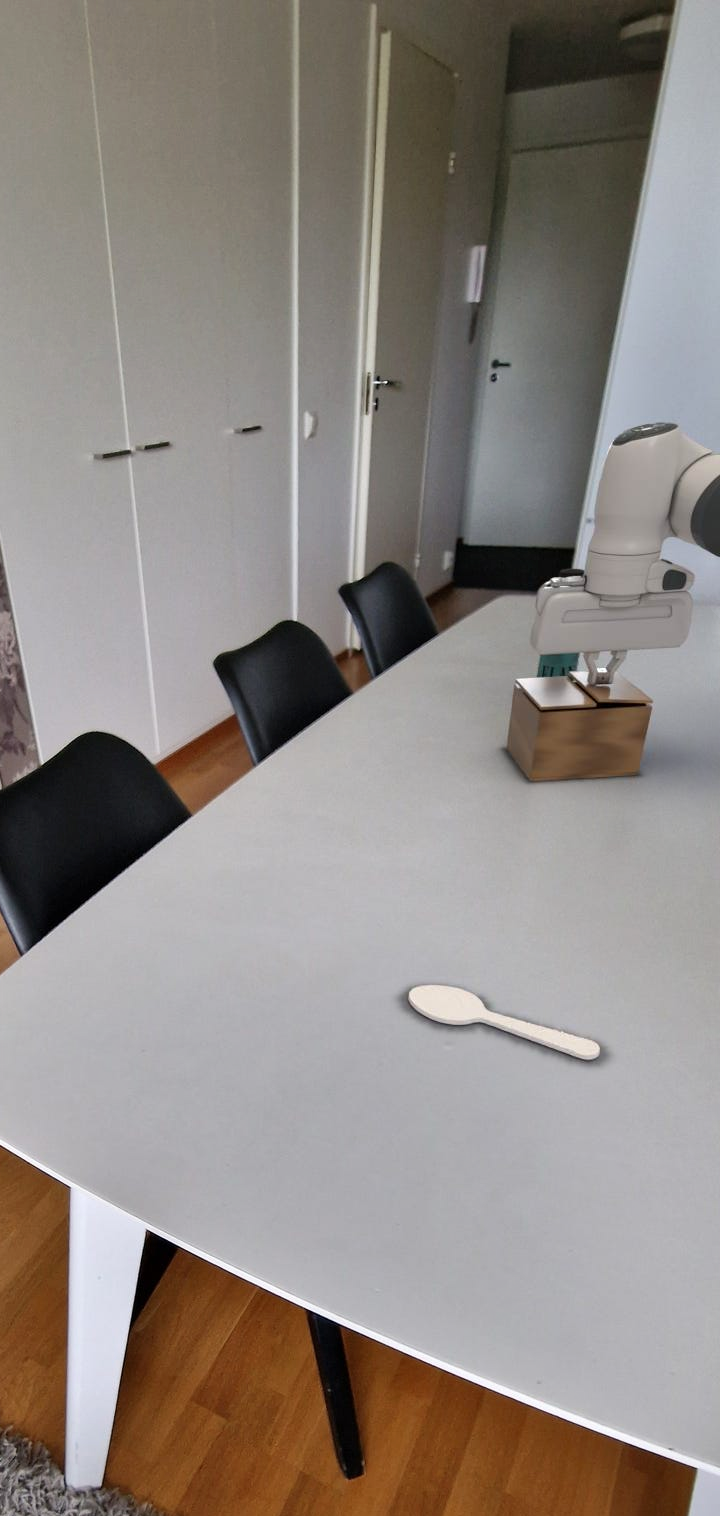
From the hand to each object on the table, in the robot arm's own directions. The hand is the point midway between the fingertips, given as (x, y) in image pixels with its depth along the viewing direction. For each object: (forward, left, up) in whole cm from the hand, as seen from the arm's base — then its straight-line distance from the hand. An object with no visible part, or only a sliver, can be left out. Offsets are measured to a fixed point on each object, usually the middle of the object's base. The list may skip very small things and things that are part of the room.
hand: (599, 683), depth 127 cm
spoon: (-33, +60, -11) cm, 69 cm away
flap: (-1, -1, -1) cm, 1 cm away
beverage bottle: (+20, -20, -11) cm, 31 cm away
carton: (+1, +2, -11) cm, 11 cm away
